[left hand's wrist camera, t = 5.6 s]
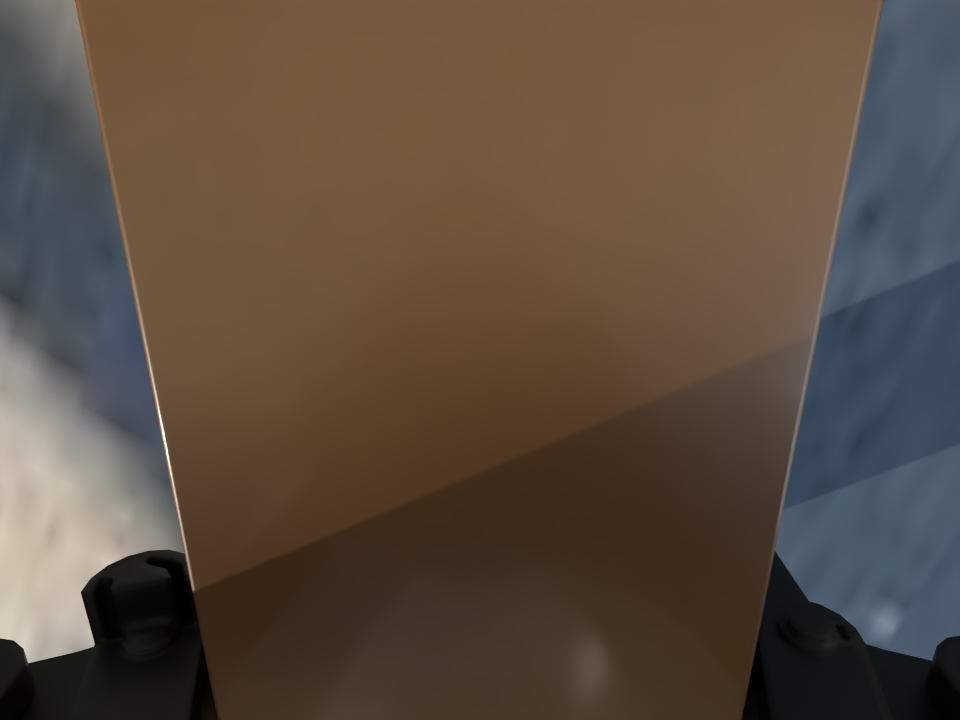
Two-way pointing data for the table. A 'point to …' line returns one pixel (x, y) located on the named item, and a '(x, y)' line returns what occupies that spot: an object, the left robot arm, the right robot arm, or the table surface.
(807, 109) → the brown box
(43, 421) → the table surface
